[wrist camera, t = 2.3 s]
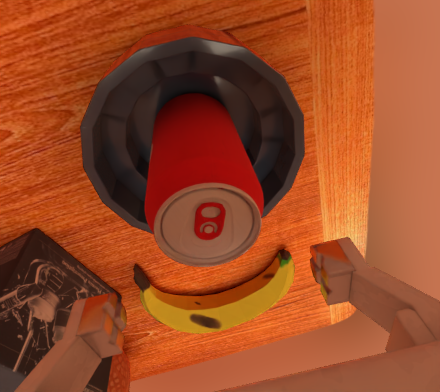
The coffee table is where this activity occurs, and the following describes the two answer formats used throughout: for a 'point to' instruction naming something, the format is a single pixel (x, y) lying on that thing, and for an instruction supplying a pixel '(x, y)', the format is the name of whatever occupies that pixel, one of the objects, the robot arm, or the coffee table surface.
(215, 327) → the banana
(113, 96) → the blue dish
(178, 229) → the beverage can
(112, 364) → the planter
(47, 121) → the coffee table surface
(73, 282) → the small box
